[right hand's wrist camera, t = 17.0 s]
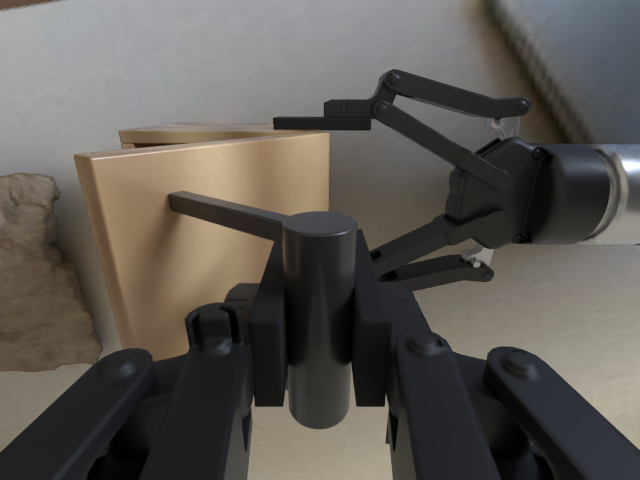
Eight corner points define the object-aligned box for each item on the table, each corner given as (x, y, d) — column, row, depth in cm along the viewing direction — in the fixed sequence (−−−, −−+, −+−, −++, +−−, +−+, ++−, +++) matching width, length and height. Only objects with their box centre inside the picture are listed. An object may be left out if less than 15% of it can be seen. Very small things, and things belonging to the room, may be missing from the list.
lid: (129, 378, 15) (292, 520, 10) (71, 153, 11) (278, 194, 6) (313, 269, 25) (441, 311, 20) (313, 131, 21) (467, 140, 16)
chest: (189, 226, 33) (145, 266, 25) (174, 123, 30) (117, 130, 21) (320, 226, 33) (320, 267, 25) (320, 124, 30) (321, 131, 21)
